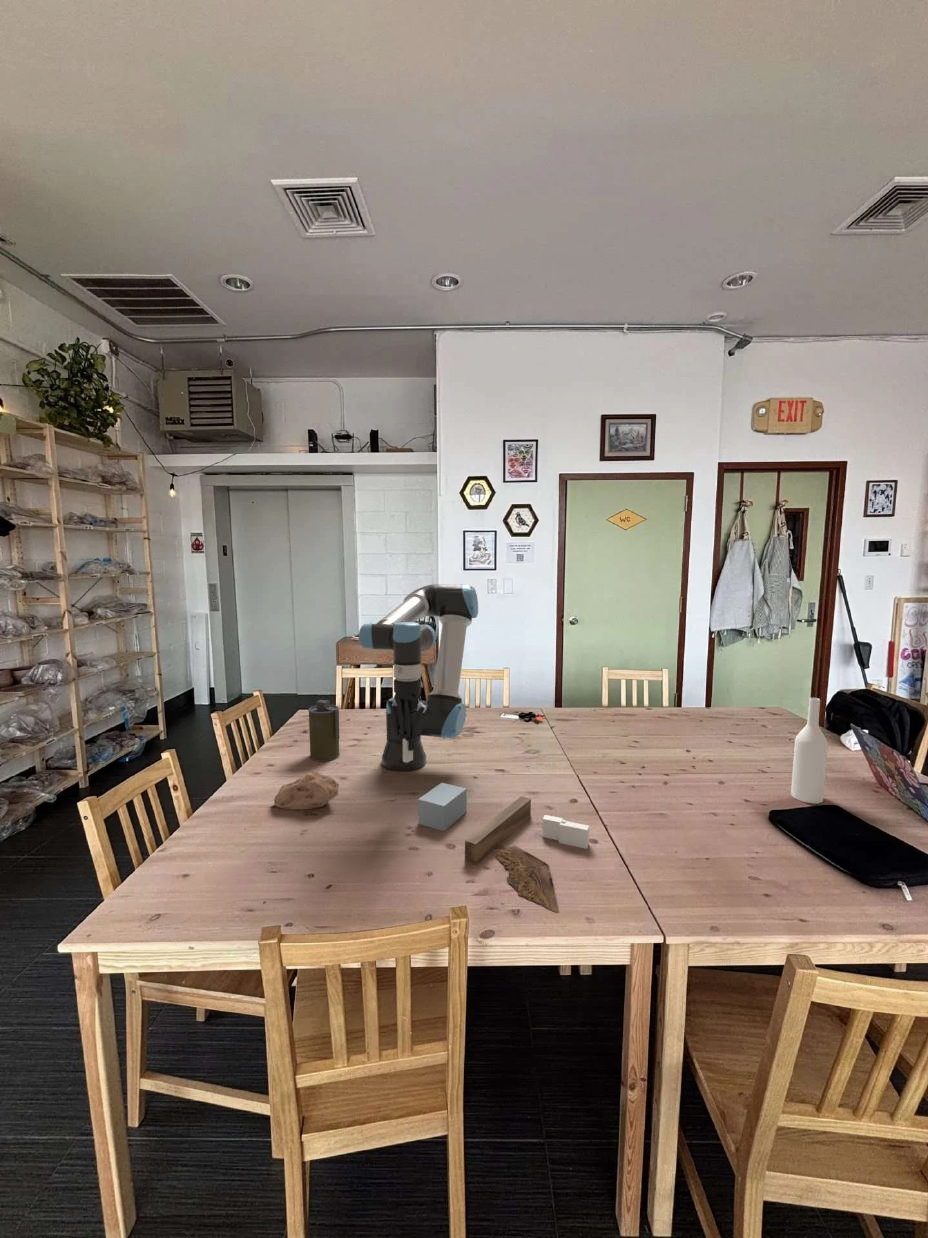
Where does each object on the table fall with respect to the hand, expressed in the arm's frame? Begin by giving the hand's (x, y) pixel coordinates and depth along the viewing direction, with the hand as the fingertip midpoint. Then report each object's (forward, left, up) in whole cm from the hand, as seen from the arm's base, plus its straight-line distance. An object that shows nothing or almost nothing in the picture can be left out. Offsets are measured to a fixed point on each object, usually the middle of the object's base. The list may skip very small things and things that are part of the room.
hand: (407, 760), depth 152 cm
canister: (-49, +13, -14) cm, 53 cm away
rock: (-25, -16, -14) cm, 32 cm away
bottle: (+94, +70, -14) cm, 118 cm away
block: (+12, 0, -14) cm, 18 cm away
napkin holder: (+44, +8, -14) cm, 47 cm away
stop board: (+30, 0, -14) cm, 33 cm away
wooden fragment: (+44, -11, -14) cm, 47 cm away
